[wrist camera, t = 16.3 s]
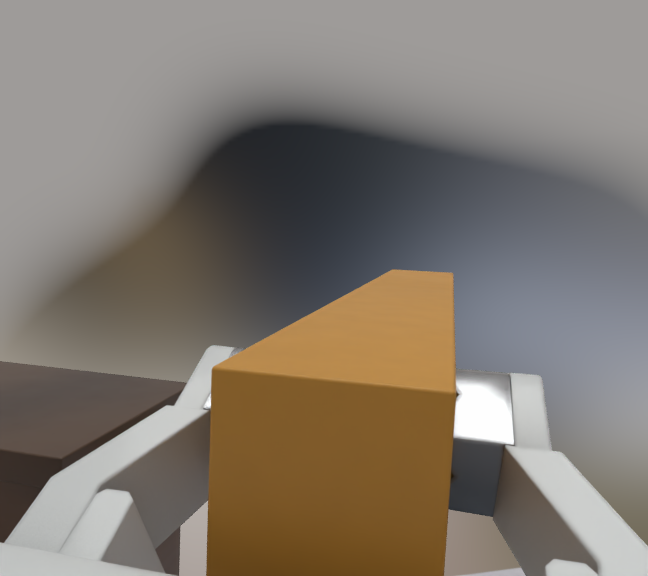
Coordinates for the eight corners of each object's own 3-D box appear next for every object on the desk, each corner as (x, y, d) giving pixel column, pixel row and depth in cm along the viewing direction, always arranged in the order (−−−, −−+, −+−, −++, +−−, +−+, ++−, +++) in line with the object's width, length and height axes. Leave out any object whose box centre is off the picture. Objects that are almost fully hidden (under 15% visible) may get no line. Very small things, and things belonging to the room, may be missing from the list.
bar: (204, 593, 7) (210, 366, 7) (388, 328, 29) (392, 269, 28) (439, 638, 7) (456, 391, 6) (449, 333, 28) (453, 272, 28)
